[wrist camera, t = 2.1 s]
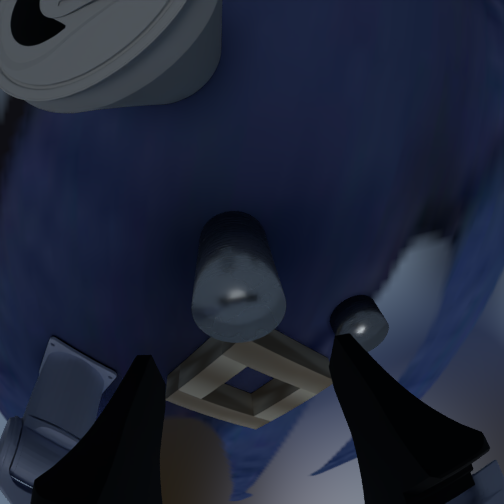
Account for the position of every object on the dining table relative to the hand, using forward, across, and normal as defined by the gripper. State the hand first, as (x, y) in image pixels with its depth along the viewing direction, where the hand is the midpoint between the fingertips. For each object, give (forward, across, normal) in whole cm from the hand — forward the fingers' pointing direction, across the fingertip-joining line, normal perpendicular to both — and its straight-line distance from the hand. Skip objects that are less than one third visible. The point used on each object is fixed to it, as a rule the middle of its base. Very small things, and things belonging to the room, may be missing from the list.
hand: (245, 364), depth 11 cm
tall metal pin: (+10, 0, 0) cm, 10 cm away
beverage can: (+10, +3, -13) cm, 17 cm away
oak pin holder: (+10, 0, +14) cm, 17 cm away
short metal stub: (+10, -10, +8) cm, 17 cm away
